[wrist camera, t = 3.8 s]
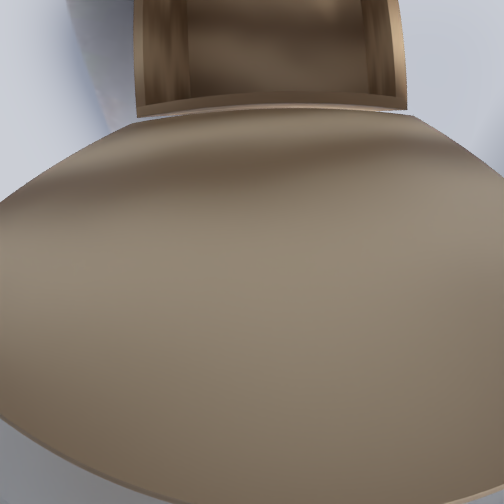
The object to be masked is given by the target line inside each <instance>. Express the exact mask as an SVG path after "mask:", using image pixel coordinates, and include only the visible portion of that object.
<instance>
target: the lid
mask: <svg viewBox="0 0 504 504" xmlns="http://www.w3.org/2000/svg"><path fill="white" fill-rule="evenodd" d="M0 419H2V420H3V421H4V422H6V423H7V424H8V425H10V426H11V427H13V428H14V429H16V430H17V431H18V432H20V433H21V434H23V435H24V436H26V437H27V438H29V439H30V440H32V441H34V442H35V443H37V444H38V445H40V446H42V447H43V448H45V449H47V450H48V451H50V452H52V453H54V454H55V455H57V456H59V457H61V458H62V459H64V460H66V461H68V462H70V463H72V464H74V465H76V466H78V467H80V468H82V469H84V470H86V471H88V472H90V473H92V474H94V475H96V476H99V477H101V478H103V479H105V480H108V481H110V482H112V483H115V484H117V485H120V486H122V487H125V488H127V489H130V490H133V491H135V492H138V493H141V494H144V495H147V496H150V497H153V498H156V499H159V500H162V501H166V502H169V503H172V504H464V503H467V502H470V501H473V500H476V499H479V498H482V497H485V496H488V495H490V494H493V493H496V492H498V491H501V490H503V489H504V178H503V177H502V176H501V175H500V174H498V173H497V172H496V171H495V170H493V169H492V168H491V167H489V166H488V165H487V164H486V163H484V162H483V161H482V160H480V159H479V158H477V157H476V156H475V155H473V154H472V153H471V152H469V151H468V150H466V149H465V148H464V147H462V146H461V145H459V144H458V143H456V142H455V141H453V140H452V139H450V138H449V137H447V136H446V135H444V134H443V133H441V132H440V131H438V130H436V129H435V128H433V127H431V126H430V125H428V124H427V123H425V122H423V121H421V120H420V119H418V118H416V117H414V116H411V115H403V114H393V113H384V112H375V111H362V110H347V109H322V108H273V109H249V110H233V111H220V112H209V113H199V114H190V115H182V116H175V117H168V118H161V119H154V120H148V121H142V122H137V123H132V124H130V125H128V126H125V127H123V128H121V129H119V130H117V131H115V132H113V133H111V134H109V135H107V136H105V137H103V138H101V139H100V140H98V141H96V142H94V143H92V144H90V145H88V146H87V147H85V148H83V149H81V150H79V151H78V152H76V153H74V154H72V155H71V156H69V157H67V158H66V159H64V160H62V161H61V162H59V163H57V164H56V165H54V166H52V167H51V168H49V169H48V170H46V171H44V172H43V173H42V174H40V175H38V176H37V177H35V178H34V179H32V180H31V181H29V182H28V183H26V184H25V185H24V186H22V187H21V188H19V189H18V190H16V191H15V192H14V193H12V194H11V195H10V196H8V197H7V198H5V199H4V200H3V201H2V202H0Z"/></svg>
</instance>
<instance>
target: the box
mask: <svg viewBox="0 0 504 504" xmlns="http://www.w3.org/2000/svg"><path fill="white" fill-rule="evenodd" d="M133 42H134V77H135V96H136V110H137V118H141V117H154V116H169V115H190V114H199V113H208V112H219V111H232V110H247V109H271V108H325V109H348V110H363V111H387V110H388V111H391V110H407V85H406V84H407V81H406V65H405V51H404V42H403V33H402V24H401V16H400V10H399V3H398V0H134V21H133Z"/></svg>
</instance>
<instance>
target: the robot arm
mask: <svg viewBox="0 0 504 504" xmlns="http://www.w3.org/2000/svg"><path fill="white" fill-rule="evenodd" d="M0 504H172V503H169V502H166V501H162V500H159V499H156V498H153V497H150V496H147V495H144V494H141V493H138V492H135V491H133V490H130V489H127V488H125V487H122V486H120V485H117V484H115V483H112V482H110V481H108V480H105V479H103V478H101V477H99V476H96V475H94V474H92V473H90V472H88V471H86V470H84V469H82V468H80V467H78V466H76V465H74V464H72V463H70V462H68V461H66V460H64V459H62V458H61V457H59V456H57V455H55V454H54V453H52V452H50V451H48V450H47V449H45V448H43V447H42V446H40V445H38V444H37V443H35V442H34V441H32V440H30V439H29V438H27V437H26V436H24V435H23V434H21V433H20V432H18V431H17V430H16V429H14V428H13V427H11V426H10V425H8V424H7V423H6V422H4V421H3V420H2V419H0ZM464 504H504V489H503V490H501V491H498V492H496V493H493V494H490V495H488V496H485V497H482V498H479V499H476V500H473V501H470V502H467V503H464Z"/></svg>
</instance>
